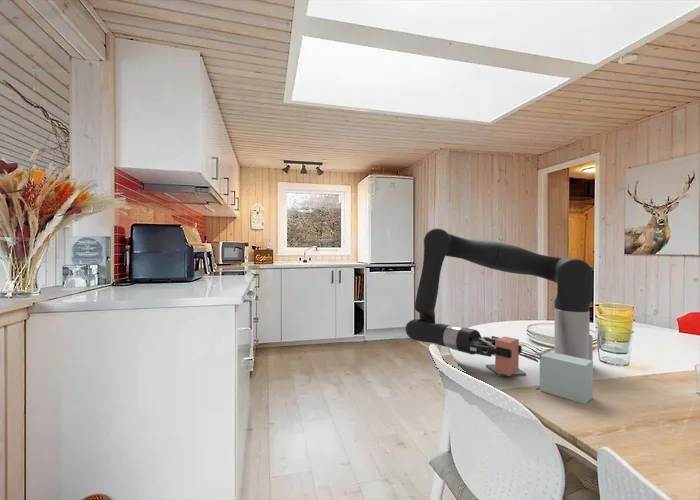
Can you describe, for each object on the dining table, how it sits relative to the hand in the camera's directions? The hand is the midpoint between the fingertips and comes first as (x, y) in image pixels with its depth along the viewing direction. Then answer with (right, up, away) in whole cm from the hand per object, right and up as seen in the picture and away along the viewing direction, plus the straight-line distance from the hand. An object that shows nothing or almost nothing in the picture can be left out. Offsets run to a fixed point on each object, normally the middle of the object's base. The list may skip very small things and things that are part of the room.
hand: (516, 351), depth 94 cm
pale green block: (+8, -8, -9) cm, 14 cm away
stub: (-2, -6, +2) cm, 7 cm away
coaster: (0, -8, +7) cm, 10 cm away
